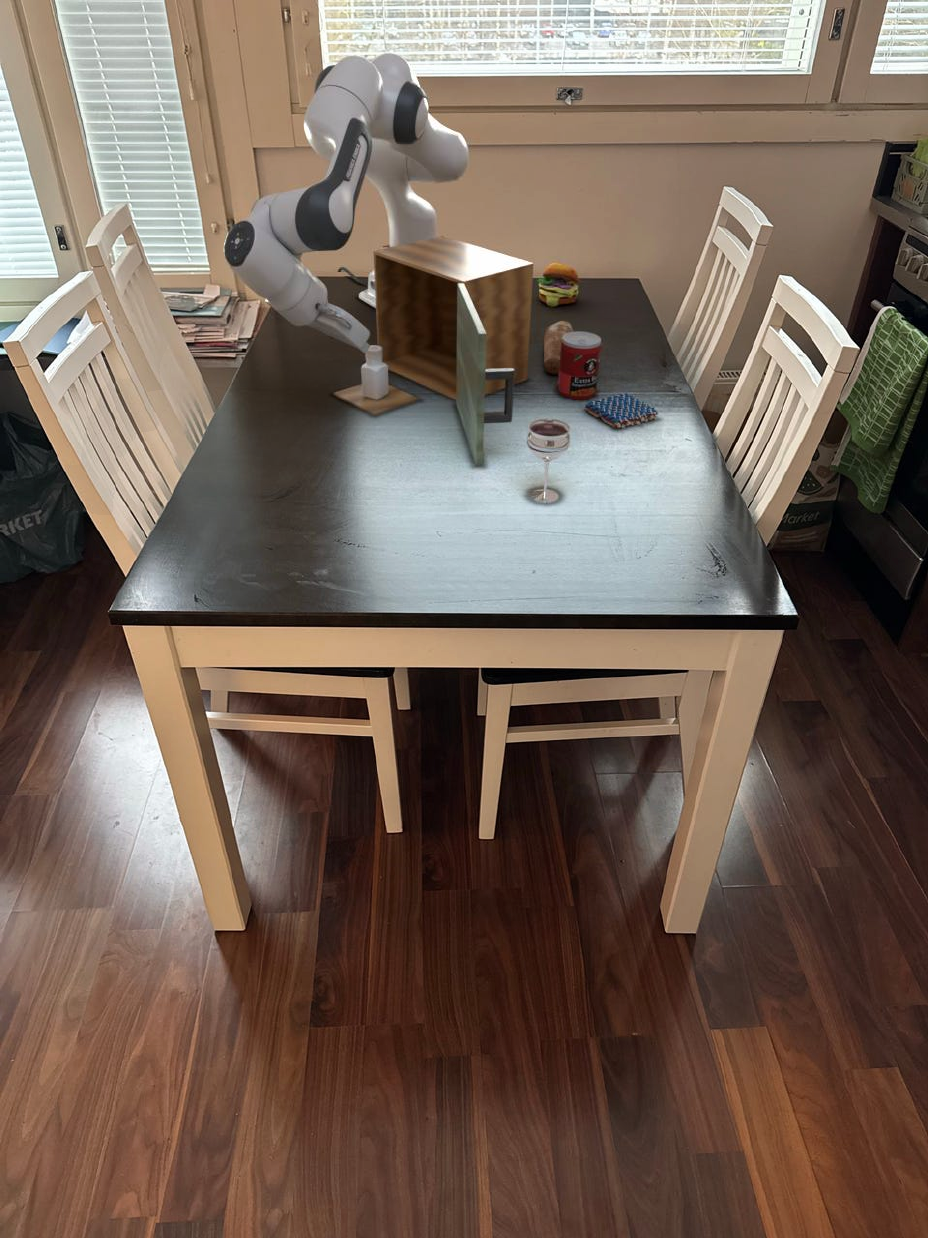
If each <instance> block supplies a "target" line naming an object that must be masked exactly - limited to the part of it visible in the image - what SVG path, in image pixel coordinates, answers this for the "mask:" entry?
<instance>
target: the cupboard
mask: <svg viewBox="0 0 928 1238" xmlns="http://www.w3.org/2000/svg"><path fill="white" fill-rule="evenodd" d="M372 251H373V270H374V274H375V297H376V308H375V316H376V318H375V321H376V341H377V346H380V347H382V362H383V363H385V364H386V365H387V366H388V371H390V372H392V373H394V374H397V375H400V376H402V377H404V378H406V379H408V380H410V381H413V382H415V383H417V384H419V385H421V386H424V387H426V388H428V389H430V390H432V391H435V392H436V393H439V394H441V395H443V396H446V397H448V398H450V399H452V400H455V401H456V383H457V284H461V283H464V285H465V287H466V289H467V292H468V294H469V296H470V298H471V301H472V303H473V305H474V307H475V309H476V312H477V314H478V316H479V318H480V321H481V323H482V325H483V327H484V329H485V332H486V334H487V335H486V369H499V368H513V369H514V370H515V371H514V385H516V384H520V383H522V382H525V381H527V380H528V369H529V368H528V367H529V353H530V351H529V349H530V335H531V334H530V333H531V332H530V331H531V317H532V316H531V315H532V313H531V312H532V300H533V299H532V298H533V297H532V295H533V280H534V263H533V262H530V261H527V260H525V259H522V258H521V259H520V258H518V257H515V256H511V255H507V254H505V253H502V252H499V251H498V252H497V251H494V250H491V249H488V248H484V247H481V246H478V245H474V244H471V243H467V242H464V241H461V240H457V239H454V238H451V237H448V236H444V235H438V236H436V237H434V238H430V239H425V240H421V241H416V242H412V243H407V244H403V245H398V246H394V247H389V248H387V247H384V248H381V249H375V250H372ZM505 381H506V379H504V380H485V396H487V395H488V394H489V395H490V394H493V393H495V392H498V391H500V390H502V389H505Z"/></svg>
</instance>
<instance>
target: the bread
mask: <svg viewBox="0 0 928 1238" xmlns="http://www.w3.org/2000/svg"><path fill="white" fill-rule="evenodd" d="M569 332H575V331H574V329H573V327H572V324H571V323H570V322H569V321H564V320H559V321H558V322H555V323H554V324H551V325H549V326H548V327H547V328H546V330H545V333H544V342H543V345H544V347H543V350H544V351H543V352H544V353H543V355H544V356H543V360H544V370H545V371H546V372H547V373H548V374H551V375H559V366H560V353H561V341H562V336H563V335H564V334H566V333H569Z"/></svg>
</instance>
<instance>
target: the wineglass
mask: <svg viewBox="0 0 928 1238" xmlns="http://www.w3.org/2000/svg"><path fill="white" fill-rule="evenodd" d="M527 428H528V433H527V437H526V444H527V446H528V449H529V451H530V452H531V454H532V455H534V456H535V457H536V458H538V459H541V460H542V461H543V462H544V467H543V468H544V470H543V471H544V473H543V488H540V489H539V488H538V489H535V490H532V491H531V493H530V498H531V499H533V500H534V501H536V502H539V503H543V504H545V503H547V504H548V503H552V502H556V501H557V500H559V494H558V492H556V491H554V490H552V489H548V488H547V486H548V478H549V472H550V471H549V470H550V462H552V461H554V460H557V459H559V458H560V457H562V456H563V455H565V454H566V453H567V451H568V450H569V447H570V445H571V435H570V433H571V431H572V427H571V425H570V424H569V423H567V422H566V421H563V420H560V419H555V418H539V419H535V420H533V421H531V422H530V423H529V424H528V426H527Z"/></svg>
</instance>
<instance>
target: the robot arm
mask: <svg viewBox="0 0 928 1238" xmlns="http://www.w3.org/2000/svg"><path fill="white" fill-rule="evenodd" d="M410 65H411V64H409V62H408V61H407V60H406V58H404V57H402V56H401V55H399V54H397V53H393V52H386V53H382V54H379V55H378V56H376V57H375V58H373V59H372V60H371V61H370V60H368V59H366V58H365V57H362V56H359V55H348V56H345V57H343V58H342V59H340V60H339V61H338V62H337V63H335V64H331V65H328V66H327V67H325V68H324V69H322V70H321V72H320V73H318V76H317V78H316V82H315V87H314V91H313V96H312V98H311V100H310V102H309V104H308V106H307V107H306V110H305V115H304V119H303V129H304V133H305V136H306V140H307V141H308V143H309V145H310V146H311V148H312V149H313V151H314V152H315V153H316V155H318V156H319V157H320V158H322V159H323V160H325V161H326V162H329V166H328V169H327V172H326V174H325V177H324V178H323V179H321V180H319V181H318V182H316V183H314V184H311V185H309V186H305V187H301V188H297V189H291V190H286V191H280V192H276V193H272V194H268V195H267V194H266V195H265V196H262V197H260V198H258V199H257V200H256V201H255V203H254V204H253V206H252V209H251V210H250V211H251V212H250V214H249V215H248V216H247V218H245V219H243V220H240V221H238V222H236V223H235V224H234V225H233V226H232V227H231V228H230V230H229V231H228V232H227V234H226V237H225V238H224V239H225V240H224V244H223V256H224V259H225V261H226V263H227V265H228V266H229V268H230V269H231V271H232V272H233V273H234V274H235V275H236V277H237V278H238V279H239V280H240V281H241V282H242V283H243V284H244V285H245V286H246V287H248V289H250V290H251V291H252V292H253V293H255V294H256V295H257V296H259V297H262V298H264V300H265V303H266V304H267V305H268V306H269V307H271V308H272V309H273V310H274V311H276V312H277V313H278V314H280V315H281V317H283V318H284V319H285V320H286V321H288V322H289V323H290V324H291V325H292V326H295V327H303V326H308V327H309V328H311V329H315V330H316V331H318V332H320V333H323V334H325V335H326V336H327V337H329V338H331V339H332V340H333V339H334V340H335V339H336V340H338V341H339V342H342V343H344V344H347V345H348V346H350V347H352V348H355V349H356V350H358V351H359V352H360V353H363V354H365V353H366V352H367V351H368V349H369V347H370V346H371V344H369V343H368V340H369V339H370V336H371V332H370V330H369V329H368V328H367V327H366V326H365V325H363V323H361V322H360V321H359V320H358V319H356V318H355V317H354V316H353V315H352V314H350V313H349V312H347V311H346V310H345V309H343V308H341V307H339V306H337V305H334V304H332V303H331V302H330V303H329V300H328V288H327V286H326V285H325V284H324V283H323V282H322V281H321V280H320V279H319V278H318V277H317V276H316V275H315V274H314V273H313V272H311V270H309V268H307V267H306V266H305V265H304V264H303V262H302V256H303V254H305V253H312V252H332V251H338V250H341V249H342V248H343V247H344V246H345V245H346V244H347V243H348V241H349V240H350V238H351V236H352V234H353V231H354V224H355V215H356V207H357V203H358V200H359V196H360V193H361V190H362V187H363V184H364V181H365V178H366V179H367V180H368V181H369V182H370V183H371V184H372V185H373V186H374V188H375V190H377V191H378V193H379V195H380V197H381V199H382V201H383V203H384V206H385V207H384V208H385V209H386V214H387V215H386V216H387V223H388V235H389V244H386V245H382V248H389V247H394V246H398V245H403V244H407V243H412V242H416V241H421V240H425V239H430V238H434V237H437V213H436V210H435V208H434V207H433V205H432V204H431V203H430V202H428V201H427V200H426V199H424V198H422V197H421V196H419V195H418V194H416V192H415V191H414V190H413V189H412V186H411V183H417V184H418V183H420V184H445V183H450V182H455V181H459V180H460V179H461V178H462V177H463V176H464V174H465V173H466V171H467V168H468V166H469V161H470V152H469V147H468V143H467V142H466V140H465V138H464V137H463V135H462V134H461V133H460V132H457V131H454V130H452V129H450V128H449V127H446V126H444V125H442V124H441V123H440V122H438V121H437V120H436V119H435V118H434V117H433V116H432V115H431V114H430V112H429V99H428V96H427V94H426V93H425V91H424V89H423V88H422V87H421V86H420V83H419V81H418V77H417V76H416V74H415V72H414V71H413V68H412V67H411V66H410ZM342 271H344V272H345V273H347V274H348V275H349V276H350V277H351V278H352V279H353V280H354V281H355V282H357V283H359V284H360V285H362V286H365V287H367V288H366V289H365V290H363V291H361V292H360V293H358V298H359V300H361V301H363V302H364V303H366V304H368V305H369V306H371V307H373V308H374V309H376V297H375V274H374V269H371V270H370V273H368V279H367V283H366V282H364V281H362V280H361V279H359V278H357V276H356V275H355V274H353V273H352V271H350V270H349V269H348V268H346V267H344V266H341V267H339V268H338V270H337V272H338V273H340V272H342Z"/></svg>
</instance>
